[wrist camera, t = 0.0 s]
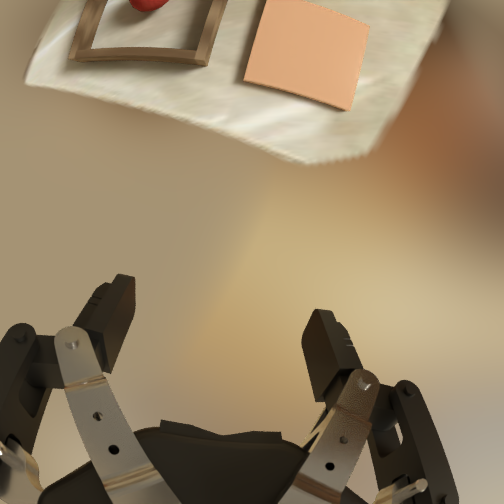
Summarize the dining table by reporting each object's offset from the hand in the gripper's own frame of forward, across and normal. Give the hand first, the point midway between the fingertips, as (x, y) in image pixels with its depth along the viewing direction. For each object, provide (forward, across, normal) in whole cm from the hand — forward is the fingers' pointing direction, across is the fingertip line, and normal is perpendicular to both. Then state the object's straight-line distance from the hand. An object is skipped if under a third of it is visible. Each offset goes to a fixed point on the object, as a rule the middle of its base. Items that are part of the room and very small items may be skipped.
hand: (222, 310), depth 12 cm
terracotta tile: (+29, -6, -21) cm, 36 cm away
